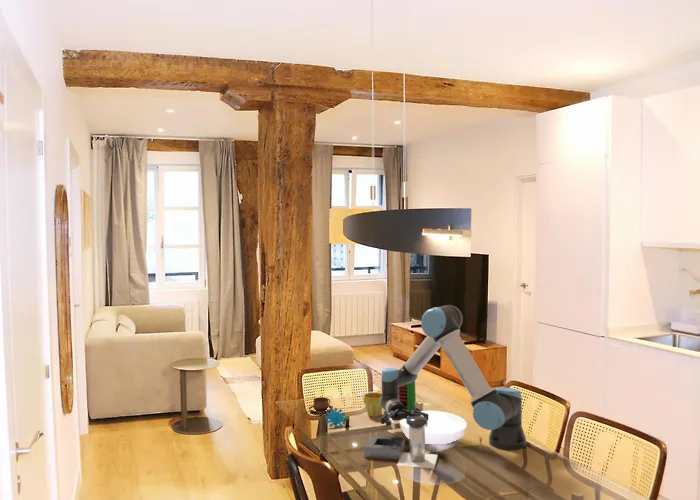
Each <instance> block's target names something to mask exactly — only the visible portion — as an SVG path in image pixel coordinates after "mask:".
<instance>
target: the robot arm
mask: <svg viewBox="0 0 700 500" xmlns="http://www.w3.org/2000/svg"><path fill="white" fill-rule="evenodd" d="M463 319H464V317H463V313H462V312H461V310H460V309H459V308H458V307H457V306H454V305H452V304H446V305H445V304H444V305H442V306H438V307H432V308H430V309H427V310H426V311H425V312H424V313H423V315H422V316H421V321H420V325H421V329H422V331H423V333H424V334H425V335H426V337H425V338H424V339H423V341H422V342H421V343H420V344H419V346H418V347H417V348H415V351H413V353H412V354H411V356H410V357H409V358H408V359H407V360H406V362H405V363H404V364H403V365H402V367H400V368H399V369H398V368H395V367H385V368H383V369H382V370H381V377H380V378H381V393H382V396H381V398H380V404H381V406H382V410H384V411H383V414H382V415H381V418H380V421H381V425H384V424H385V426H386V427H389V426H390V427H391V429H392V430H395V429H396V422H395V421H402V420H406V418H407V417H410V416H423V417H426V418H427V424H425V428H426V427H427V428H428V421H429V414H428V413H426V412H423V411H419V410H417V409H416V410H415V409H412V411H409V410H407V409H406V407H405V406H404V405H403V404H402V403H401V402H400V401H399V387H401V386H404V385H406V384H410V383H412V382H413V381H415V382H416V381H417V379H418V375H419V373H420V372H421V371H422V369H423V368H424V367H425V366H426V365H427V363H428V362H429V361H430V360H431V358H432V357H434V355H435V354H436V353H437V351H439V349H440V348H441V347H442V349H443V350H444V352H445V354H446V356H447V358H448V359H449V360H450V362H451V364H452V366H453V368H454V370H455V371H456V373H457V374H458V376H459V378H460V379H461V381H462V383H463V385H464V387H465V388H466V390H467V391H468V393H469V396H470V397H471V398H470V402H469V403H470V405H471V406H472V408H473V410H472V417H473V420H474V422H475V423H476V424H477V425H478V426H479V427H480V428H482V429H484V430H487V431H490V433H489V435H488V436H489V437H488V443H489V445H490V446H492V447H495V448H498V449H503V450H521V449H524V448H525V447H526V446H527V438H526V435H525V431H524V429H523V425H522V422H523V421H522V418H523V417H522V414H523V413H522V405H523V404H522V401H523V400H522V399H523V398H522V392H521V390H518V389H516V388H511V387H499V386H498V387H491V386H490V384H489V383H488V381H487V380H486V378H485V376H484V375H483V373H482V371H481V369H480V368H479V366H478V364H477V363H476V361H475V359H474V357H473V356H472V354H471V353H470V350H469V349H468V348H467V346H466V344H465V343H464V341H463V339H462V338H461V336H460V333H461V329H460V328H461V326H462V325H463Z"/></svg>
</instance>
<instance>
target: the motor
mask: <svg viewBox="0 0 700 500" xmlns="http://www.w3.org/2000/svg"><path fill="white" fill-rule="evenodd" d="M416 400H417V399H416V380H415V381H413V382H412V383H410V384H406V385H404V386H401V387H399V401H400V402H401V403H402V404H403V405H404V406H405V407H406V409H407V410H409V411H412V409H415V410H417V404H416V403H417V401H416Z"/></svg>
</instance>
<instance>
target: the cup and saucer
mask: <svg viewBox="0 0 700 500" xmlns="http://www.w3.org/2000/svg"><path fill="white" fill-rule="evenodd" d="M330 404H331V400H330V399H329V398H328V397H323V396H322V397H321V396H320V397H315V398H313V405H311V406H309V407H308V410H309V411H310V412H312V413H314V412H316V414H325V413H324V412H328V411H329V412H330V410H327V408H328V407H329V408H330V409H333V408H334V407H333V405H330ZM312 407H314V409H315V410H316V411H313V410H310V409H311V408H312ZM325 410H327V411H325Z"/></svg>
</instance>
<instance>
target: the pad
mask: <svg viewBox="0 0 700 500" xmlns="http://www.w3.org/2000/svg"><path fill="white" fill-rule="evenodd" d="M438 456H439V455H438V454H432V453H430V454H429V453H425V461H424V462H420V463H415V462H412V461H410V452H404V451H403V453H402V455H401V457H400V459H399V460H398V462H397V463H396V466H399V467H412V468H413V467H414V468H422V469H423V468H425V469H430V471H433V472H434V471H435V468H436V464H437V460H438Z"/></svg>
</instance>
